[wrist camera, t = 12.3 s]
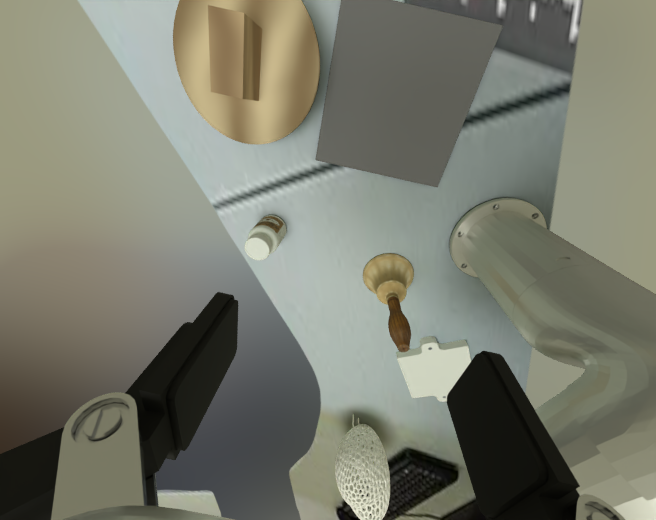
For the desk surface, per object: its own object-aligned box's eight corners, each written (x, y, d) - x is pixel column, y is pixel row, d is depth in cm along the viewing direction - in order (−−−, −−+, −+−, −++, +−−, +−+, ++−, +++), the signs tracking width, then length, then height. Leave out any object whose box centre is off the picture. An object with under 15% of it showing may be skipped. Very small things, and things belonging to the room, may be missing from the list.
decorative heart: (329, 406, 63) (320, 495, 48) (372, 400, 60) (376, 493, 45) (354, 445, 71) (353, 533, 56) (392, 441, 68) (402, 533, 53)
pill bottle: (285, 214, 40) (270, 234, 33) (288, 240, 42) (275, 263, 35) (257, 214, 41) (237, 234, 34) (262, 239, 43) (244, 263, 36)
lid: (333, -19, 23) (327, -52, 19) (308, 155, 31) (299, 163, 26) (169, -55, 23) (123, -97, 19) (184, 128, 31) (154, 131, 26)
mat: (500, 27, 27) (503, 25, 27) (436, 186, 36) (437, 187, 35) (343, -9, 27) (343, -11, 27) (316, 159, 36) (315, 159, 35)
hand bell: (378, 244, 41) (388, 311, 27) (423, 266, 42) (455, 340, 28) (354, 283, 45) (352, 358, 31) (396, 301, 46) (412, 382, 32)
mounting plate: (392, 341, 51) (393, 349, 50) (462, 328, 48) (465, 336, 46) (413, 396, 59) (415, 405, 57) (474, 388, 56) (478, 397, 54)
